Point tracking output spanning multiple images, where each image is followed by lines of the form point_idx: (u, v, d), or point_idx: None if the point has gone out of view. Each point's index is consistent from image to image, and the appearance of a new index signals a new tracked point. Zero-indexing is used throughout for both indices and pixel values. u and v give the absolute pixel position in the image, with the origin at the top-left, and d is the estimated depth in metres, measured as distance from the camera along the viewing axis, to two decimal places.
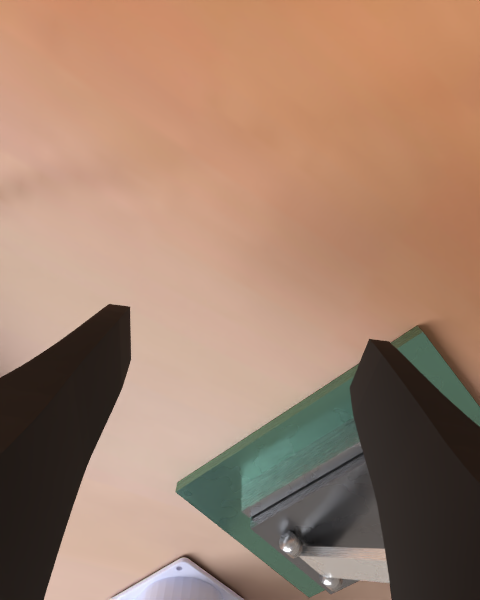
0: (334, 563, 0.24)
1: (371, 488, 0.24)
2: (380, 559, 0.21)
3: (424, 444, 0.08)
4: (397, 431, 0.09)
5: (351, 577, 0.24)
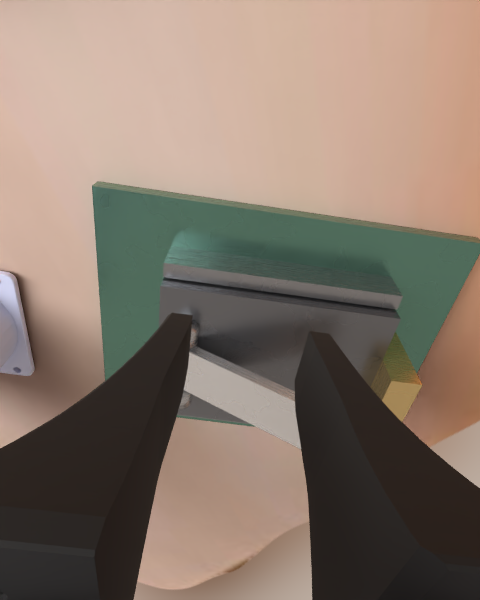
0: (219, 378, 0.19)
1: None
2: (287, 397, 0.18)
3: (341, 434, 0.08)
4: (324, 422, 0.09)
5: (217, 402, 0.20)
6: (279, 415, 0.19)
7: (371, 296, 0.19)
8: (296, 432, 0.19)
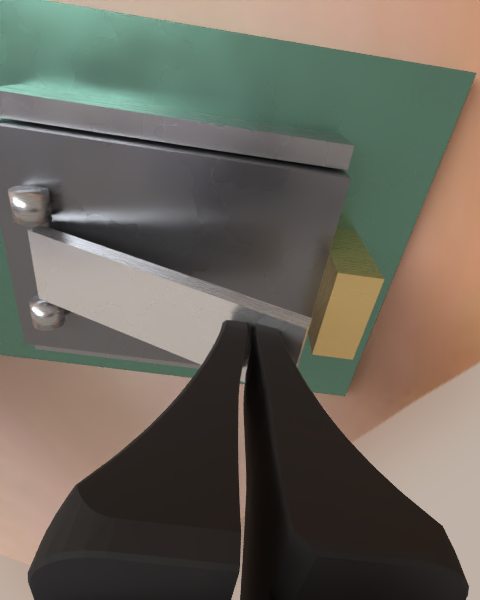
0: (83, 269, 0.13)
1: (223, 218, 0.14)
2: (176, 282, 0.12)
3: (266, 425, 0.08)
4: (258, 414, 0.09)
5: (88, 312, 0.14)
6: (170, 315, 0.12)
7: (307, 146, 0.13)
8: (196, 339, 0.12)
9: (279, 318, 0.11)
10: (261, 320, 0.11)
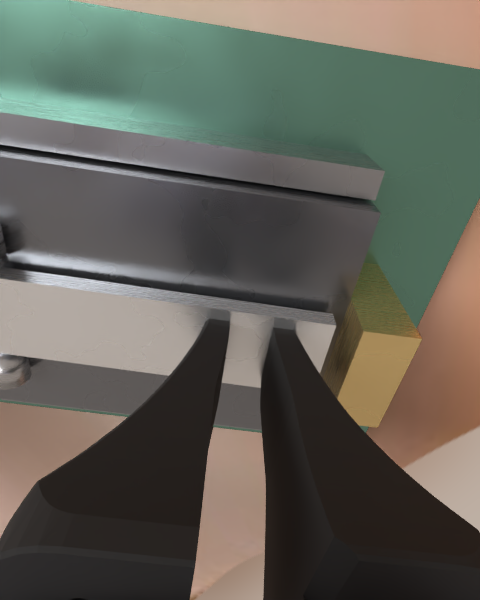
0: (66, 309, 0.11)
1: (220, 259, 0.11)
2: (191, 304, 0.11)
3: (290, 428, 0.08)
4: (279, 417, 0.09)
5: (74, 356, 0.12)
6: (184, 340, 0.11)
7: (325, 171, 0.10)
8: None
9: (307, 320, 0.11)
10: (289, 325, 0.11)
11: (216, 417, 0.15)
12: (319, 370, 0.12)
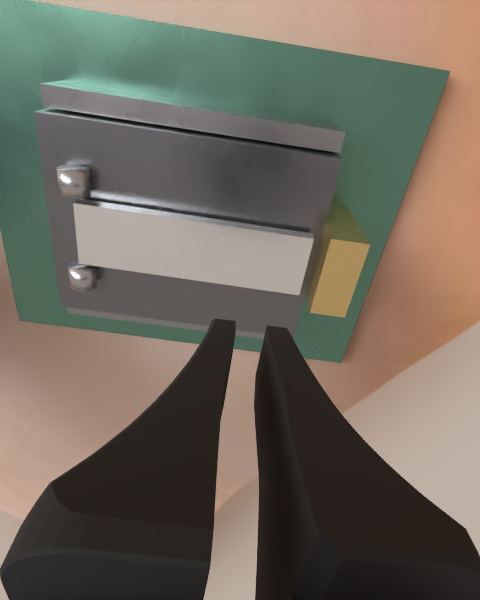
0: (130, 228, 0.16)
1: (234, 194, 0.16)
2: (215, 224, 0.16)
3: (281, 426, 0.08)
4: (272, 415, 0.09)
5: (132, 265, 0.17)
6: (209, 251, 0.17)
7: (306, 132, 0.15)
8: (231, 266, 0.17)
9: (294, 235, 0.16)
10: (282, 239, 0.16)
11: None
12: (303, 275, 0.17)
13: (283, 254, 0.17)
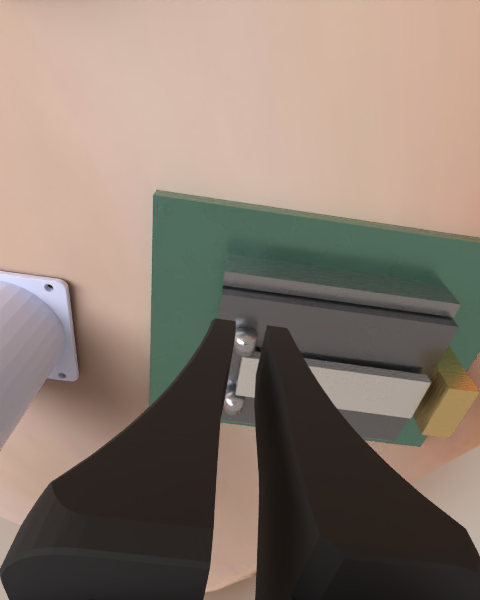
0: None
1: (368, 347, 0.20)
2: (353, 371, 0.20)
3: (281, 426, 0.08)
4: (272, 415, 0.09)
5: None
6: (344, 389, 0.21)
7: (429, 304, 0.20)
8: (359, 399, 0.21)
9: (415, 380, 0.20)
10: (405, 382, 0.20)
11: None
12: (417, 405, 0.21)
13: (404, 392, 0.21)
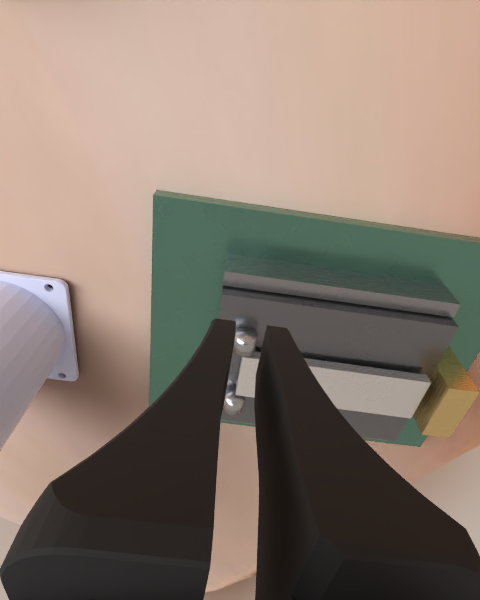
0: None
1: (368, 347, 0.20)
2: (353, 371, 0.20)
3: (281, 426, 0.08)
4: (272, 415, 0.09)
5: None
6: (344, 389, 0.21)
7: (429, 304, 0.20)
8: (359, 399, 0.21)
9: (415, 380, 0.20)
10: (405, 382, 0.20)
11: None
12: (417, 405, 0.21)
13: (404, 392, 0.21)
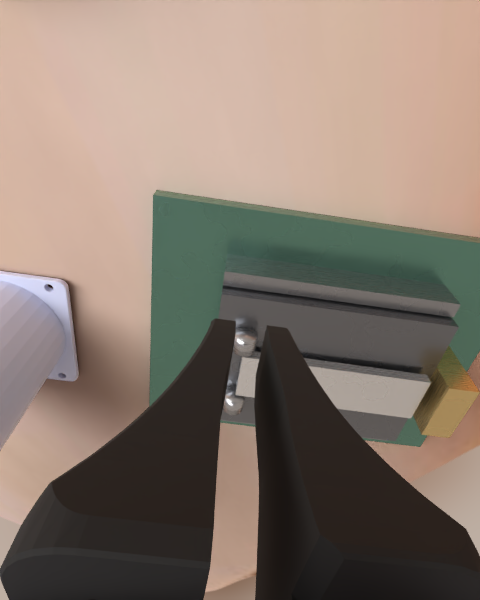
0: None
1: (368, 347, 0.20)
2: (353, 371, 0.20)
3: (281, 426, 0.08)
4: (272, 415, 0.09)
5: None
6: (344, 389, 0.21)
7: (429, 304, 0.20)
8: (359, 399, 0.21)
9: (415, 380, 0.20)
10: (405, 382, 0.20)
11: None
12: (417, 405, 0.21)
13: (404, 392, 0.21)
